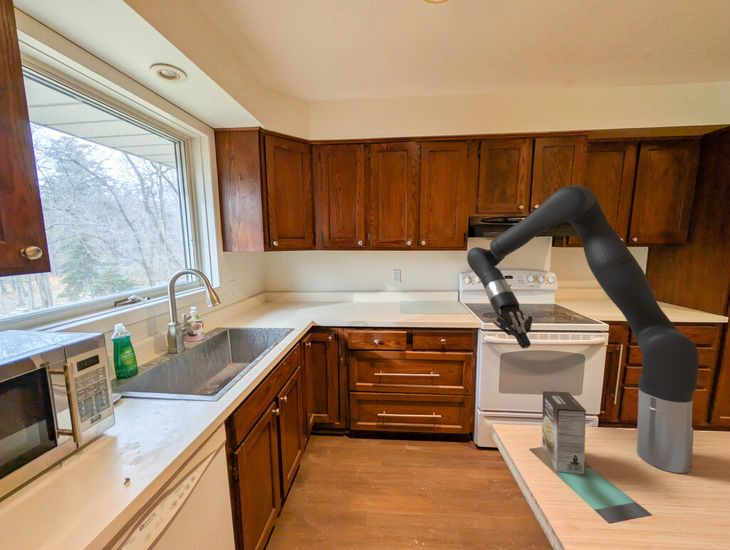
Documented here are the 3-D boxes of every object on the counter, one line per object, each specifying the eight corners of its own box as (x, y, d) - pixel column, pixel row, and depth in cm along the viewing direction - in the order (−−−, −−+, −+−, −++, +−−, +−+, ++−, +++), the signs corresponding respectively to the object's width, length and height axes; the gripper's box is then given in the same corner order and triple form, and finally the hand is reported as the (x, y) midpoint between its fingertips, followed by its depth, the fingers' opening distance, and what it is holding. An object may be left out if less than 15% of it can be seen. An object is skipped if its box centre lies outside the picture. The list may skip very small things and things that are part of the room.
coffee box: (540, 447, 78) (541, 389, 77) (567, 449, 77) (568, 391, 76) (556, 472, 69) (556, 407, 68) (586, 475, 68) (587, 409, 67)
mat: (561, 445, 79) (561, 444, 79) (652, 516, 58) (652, 514, 58) (528, 449, 78) (528, 448, 78) (608, 524, 56) (608, 523, 56)
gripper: (489, 290, 89) (514, 342, 79) (525, 290, 92) (554, 340, 82) (477, 303, 95) (499, 353, 85) (511, 302, 98) (537, 351, 88)
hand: (526, 347), depth 83 cm, fingers closed
